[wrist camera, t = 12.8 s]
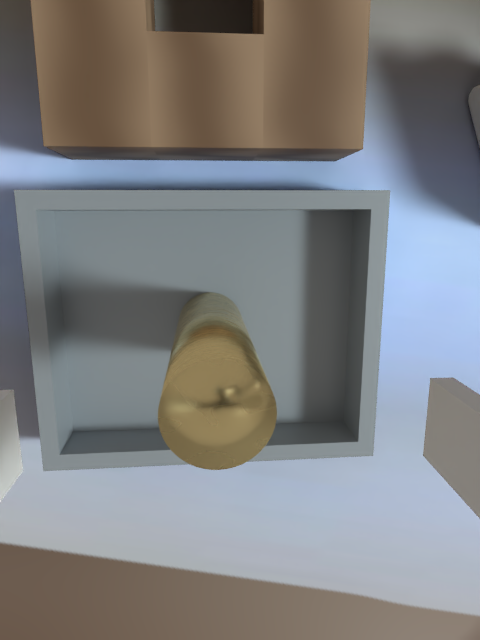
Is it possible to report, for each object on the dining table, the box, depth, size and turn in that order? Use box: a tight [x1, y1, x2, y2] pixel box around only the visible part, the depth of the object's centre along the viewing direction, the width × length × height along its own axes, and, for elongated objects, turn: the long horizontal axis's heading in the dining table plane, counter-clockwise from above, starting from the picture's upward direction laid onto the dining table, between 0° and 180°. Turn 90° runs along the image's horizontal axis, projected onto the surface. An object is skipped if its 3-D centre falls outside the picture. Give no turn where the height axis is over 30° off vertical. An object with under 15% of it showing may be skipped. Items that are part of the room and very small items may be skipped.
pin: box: [158, 292, 277, 470], centre depth 22 cm, size 4×4×14 cm
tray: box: [14, 190, 390, 471], centre depth 28 cm, size 20×16×4 cm
